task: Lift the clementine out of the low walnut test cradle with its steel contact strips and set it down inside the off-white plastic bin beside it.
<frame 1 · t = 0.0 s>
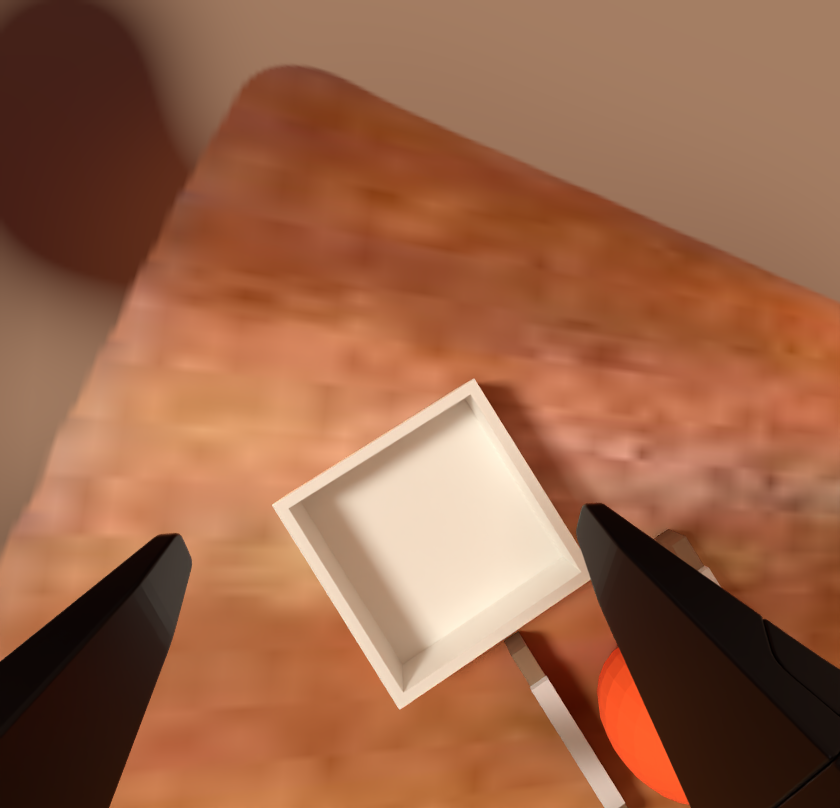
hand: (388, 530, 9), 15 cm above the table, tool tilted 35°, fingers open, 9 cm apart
bin: (432, 525, 24), on the table
clementine: (638, 666, 25), on the table
test cradle: (640, 669, 25), on the table
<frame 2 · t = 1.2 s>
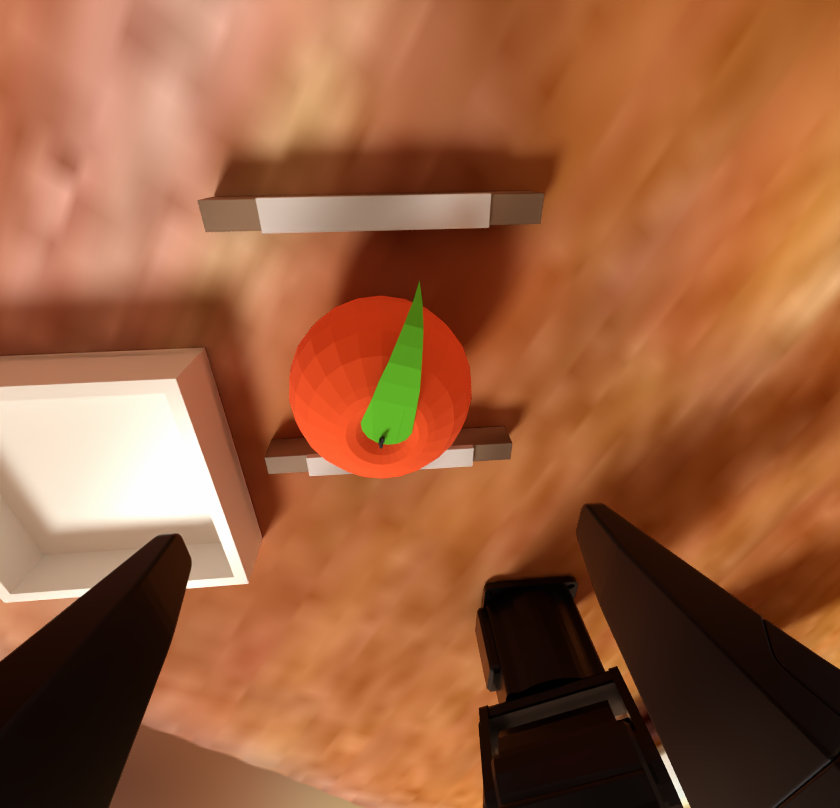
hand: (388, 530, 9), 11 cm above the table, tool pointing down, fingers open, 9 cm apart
bin: (114, 464, 21), on the table
clementine: (384, 339, 19), on the table
test cradle: (384, 342, 19), on the table
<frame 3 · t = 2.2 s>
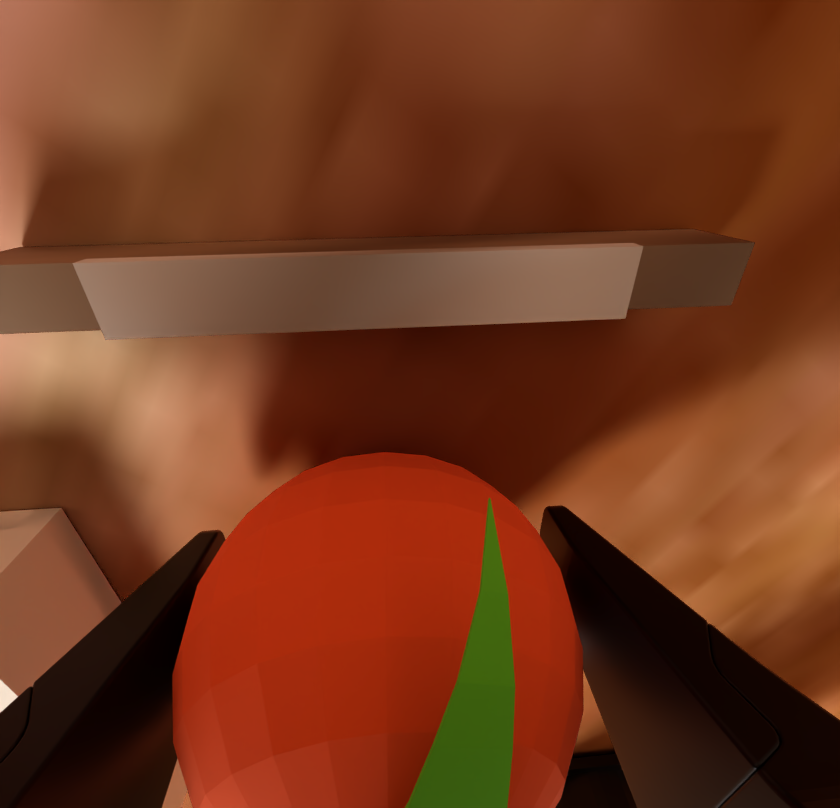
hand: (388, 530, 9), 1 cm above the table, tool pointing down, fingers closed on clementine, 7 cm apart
clementine: (390, 483, 11), on the table, touching gripper
test cradle: (389, 489, 10), on the table
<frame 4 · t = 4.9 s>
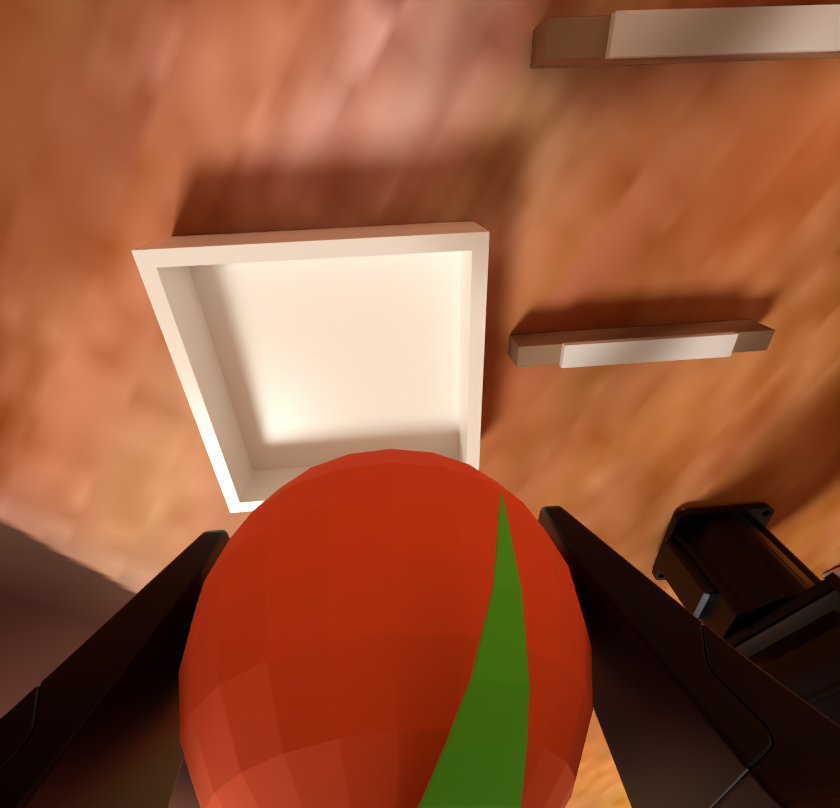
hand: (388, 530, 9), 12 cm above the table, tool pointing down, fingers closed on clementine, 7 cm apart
bin: (344, 364, 20), on the table
clementine: (395, 481, 11), point 10 cm above the table, touching gripper
test cradle: (658, 214, 17), on the table
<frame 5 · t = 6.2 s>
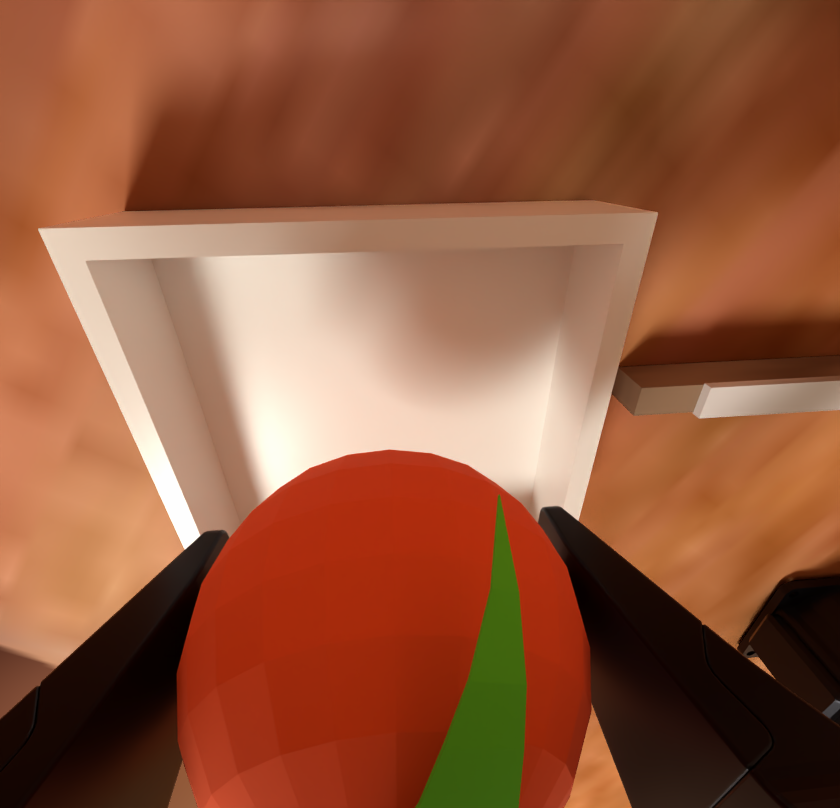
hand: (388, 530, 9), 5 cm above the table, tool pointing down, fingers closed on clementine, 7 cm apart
bin: (381, 405, 14), on the table
clementine: (394, 481, 11), point 4 cm above the table, touching gripper
when the fingers open (4 cm above the table, at t = 7.1 s): clementine drops 2 cm, resting on bin.
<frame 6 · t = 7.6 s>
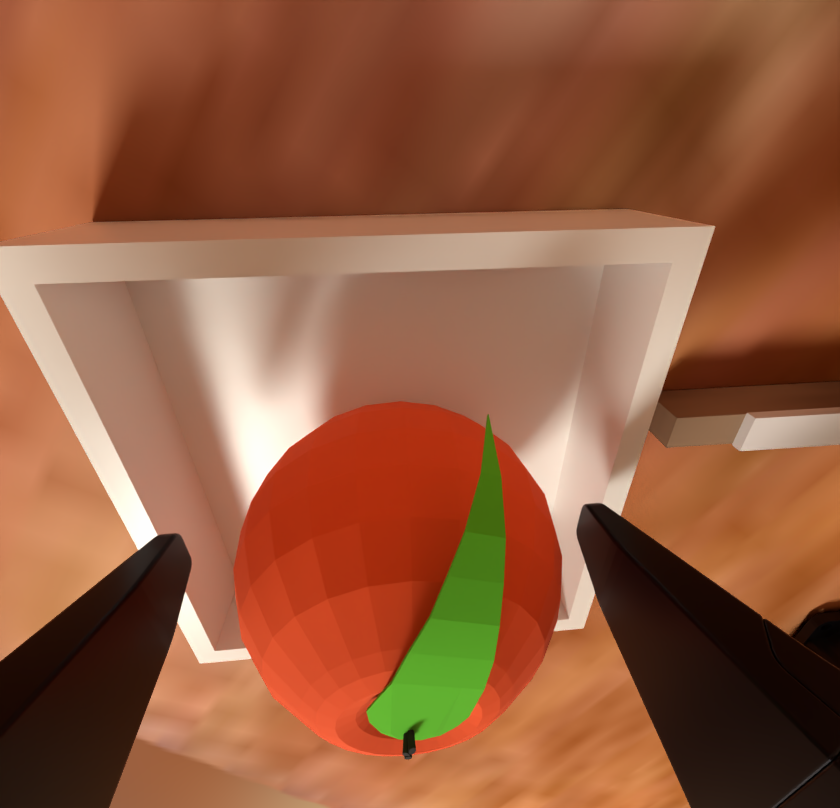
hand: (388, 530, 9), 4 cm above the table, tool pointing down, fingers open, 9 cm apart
bin: (385, 434, 13), on the table
clementine: (400, 440, 12), resting on bin
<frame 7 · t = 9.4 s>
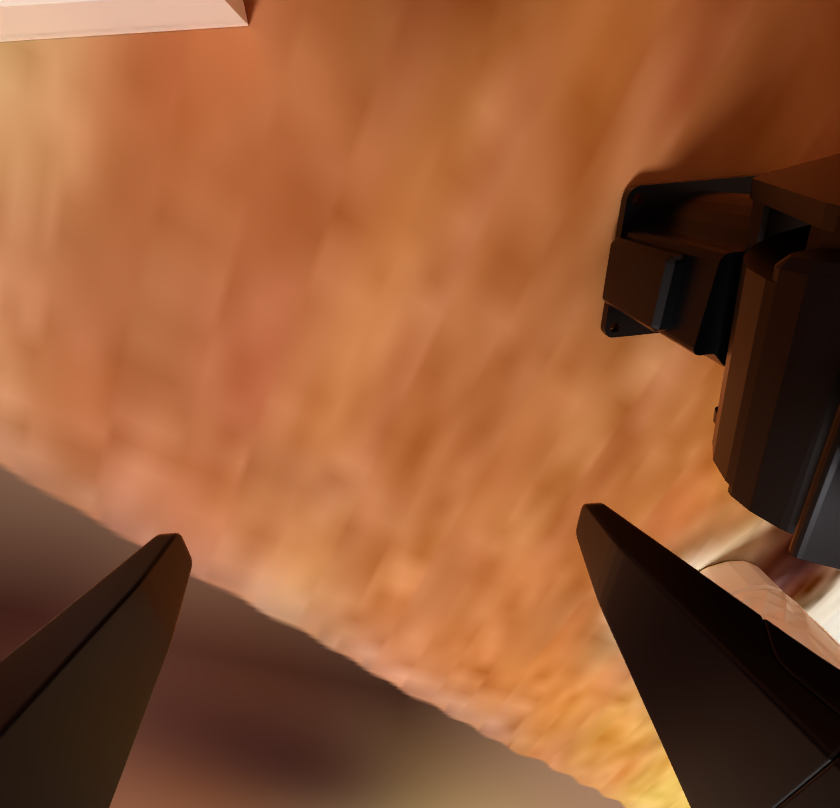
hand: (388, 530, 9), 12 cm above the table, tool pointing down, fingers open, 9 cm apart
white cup: (714, 585, 33), on the table
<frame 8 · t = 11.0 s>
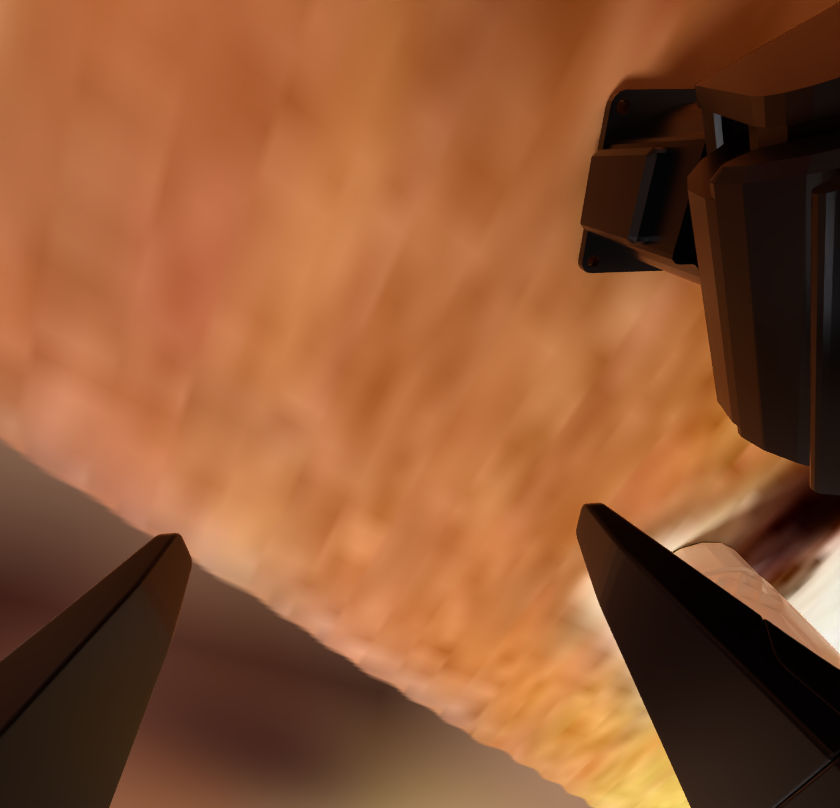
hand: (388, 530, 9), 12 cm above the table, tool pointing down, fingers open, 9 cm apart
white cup: (688, 569, 31), on the table
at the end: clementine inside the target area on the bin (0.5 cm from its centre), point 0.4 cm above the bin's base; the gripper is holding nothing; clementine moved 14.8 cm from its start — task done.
